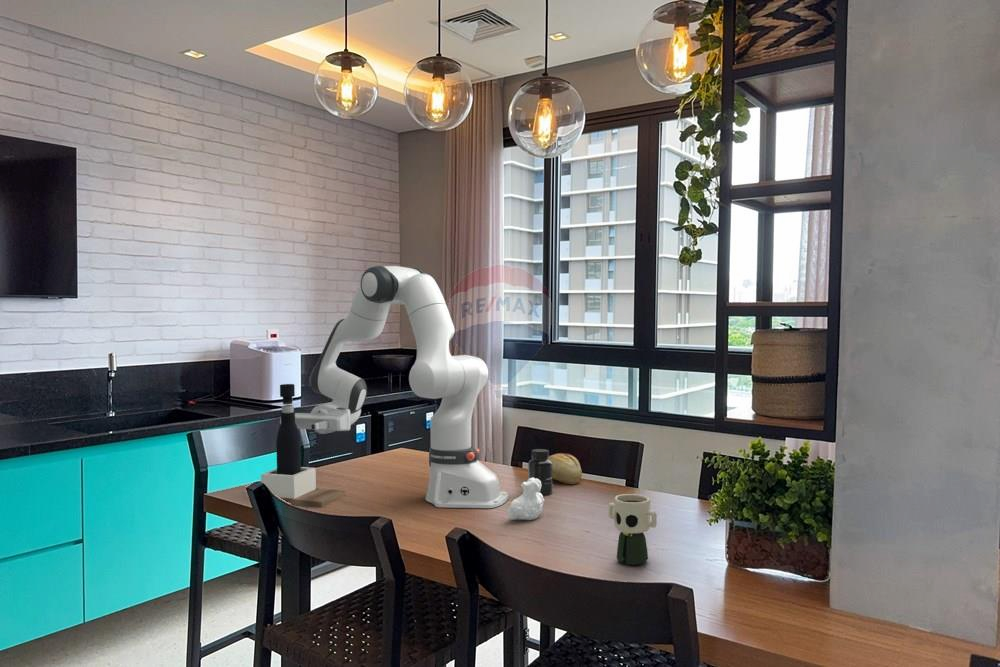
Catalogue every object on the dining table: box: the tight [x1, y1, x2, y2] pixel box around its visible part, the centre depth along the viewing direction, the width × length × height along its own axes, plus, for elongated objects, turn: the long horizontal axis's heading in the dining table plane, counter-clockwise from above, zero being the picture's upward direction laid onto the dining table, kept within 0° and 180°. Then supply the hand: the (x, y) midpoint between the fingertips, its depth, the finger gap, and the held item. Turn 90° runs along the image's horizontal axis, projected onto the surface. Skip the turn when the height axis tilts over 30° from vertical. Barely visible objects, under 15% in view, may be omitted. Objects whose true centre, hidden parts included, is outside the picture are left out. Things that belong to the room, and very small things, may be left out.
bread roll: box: [548, 452, 583, 485], centre depth 210 cm, size 10×15×8 cm, turn 40°
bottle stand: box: [260, 466, 346, 508], centre depth 192 cm, size 20×12×8 cm, turn 73°
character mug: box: [608, 493, 658, 565], centre depth 141 cm, size 11×7×13 cm, turn 49°
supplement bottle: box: [527, 448, 554, 496], centre depth 196 cm, size 7×7×12 cm
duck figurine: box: [507, 477, 545, 521], centre depth 171 cm, size 12×8×11 cm
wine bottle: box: [275, 383, 302, 475], centre depth 193 cm, size 6×6×30 cm
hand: (299, 426), depth 198 cm, fingers open, 8 cm apart
